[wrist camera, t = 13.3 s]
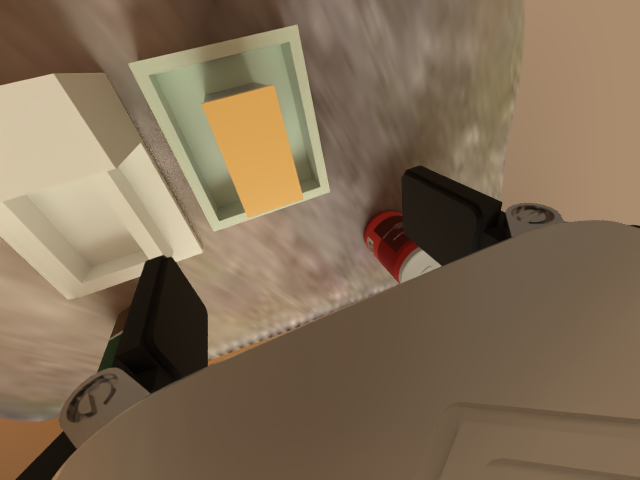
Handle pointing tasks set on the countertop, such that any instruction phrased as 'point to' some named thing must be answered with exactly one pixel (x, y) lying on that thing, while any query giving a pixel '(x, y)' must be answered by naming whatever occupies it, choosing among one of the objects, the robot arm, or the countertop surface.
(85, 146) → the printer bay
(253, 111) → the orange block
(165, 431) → the robot arm
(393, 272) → the canned food
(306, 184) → the tray
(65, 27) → the countertop surface
